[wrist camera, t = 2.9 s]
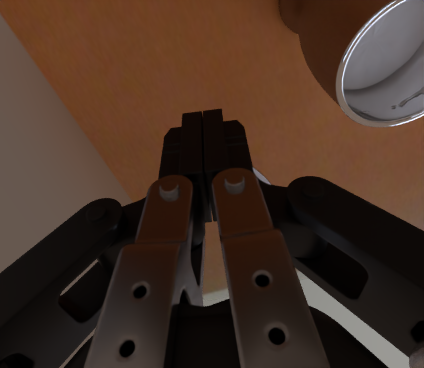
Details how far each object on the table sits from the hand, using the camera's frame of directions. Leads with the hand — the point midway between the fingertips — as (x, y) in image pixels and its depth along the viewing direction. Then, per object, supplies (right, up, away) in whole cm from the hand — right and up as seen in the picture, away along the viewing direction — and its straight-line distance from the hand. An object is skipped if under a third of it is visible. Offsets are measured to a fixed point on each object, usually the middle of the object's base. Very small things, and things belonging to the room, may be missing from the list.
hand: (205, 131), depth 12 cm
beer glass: (+9, +14, +13) cm, 21 cm away
